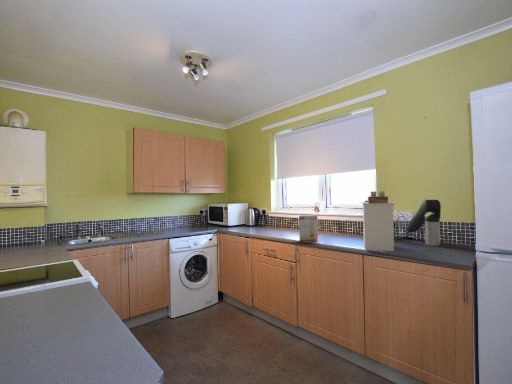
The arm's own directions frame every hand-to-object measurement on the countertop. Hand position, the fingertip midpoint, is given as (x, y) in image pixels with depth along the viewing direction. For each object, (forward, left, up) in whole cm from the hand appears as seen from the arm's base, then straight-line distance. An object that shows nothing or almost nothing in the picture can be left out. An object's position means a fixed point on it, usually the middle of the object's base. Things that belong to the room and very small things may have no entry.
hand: (375, 199), depth 214 cm
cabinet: (+15, +9, -34) cm, 38 cm away
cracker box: (+29, -43, -34) cm, 62 cm away
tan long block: (+10, +6, -2) cm, 12 cm away
